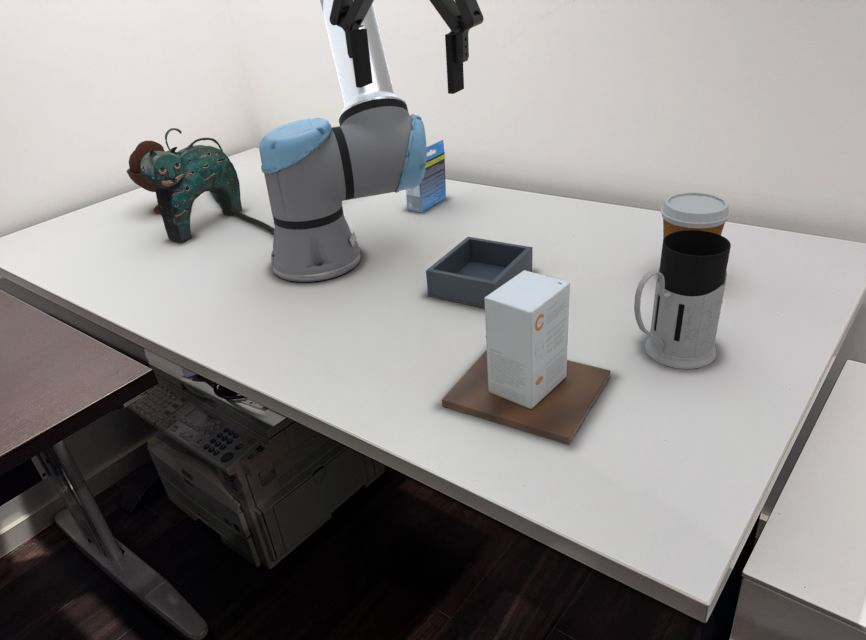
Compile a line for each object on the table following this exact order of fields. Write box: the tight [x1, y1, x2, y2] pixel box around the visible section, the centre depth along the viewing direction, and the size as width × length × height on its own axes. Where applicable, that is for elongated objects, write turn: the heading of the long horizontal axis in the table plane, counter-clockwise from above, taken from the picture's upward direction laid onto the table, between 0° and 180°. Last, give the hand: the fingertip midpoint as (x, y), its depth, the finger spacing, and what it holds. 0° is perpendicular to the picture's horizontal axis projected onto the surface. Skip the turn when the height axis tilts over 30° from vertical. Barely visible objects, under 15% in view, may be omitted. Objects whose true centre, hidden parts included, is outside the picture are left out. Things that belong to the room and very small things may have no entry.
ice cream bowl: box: [126, 140, 165, 215], centre depth 141 cm, size 11×11×15 cm
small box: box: [484, 270, 571, 409], centre depth 77 cm, size 8×6×13 cm
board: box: [441, 349, 611, 445], centre depth 81 cm, size 16×14×1 cm
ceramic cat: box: [140, 127, 243, 244], centre depth 130 cm, size 20×6×20 cm, turn 150°
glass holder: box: [633, 230, 732, 370], centre depth 81 cm, size 9×14×15 cm, turn 125°
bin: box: [425, 236, 534, 309], centre depth 105 cm, size 12×14×4 cm
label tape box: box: [405, 139, 447, 213], centre depth 133 cm, size 9×4×12 cm, turn 144°
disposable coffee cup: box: [660, 191, 731, 240], centre depth 100 cm, size 10×10×12 cm
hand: (408, 88), depth 84 cm, fingers open, 13 cm apart
